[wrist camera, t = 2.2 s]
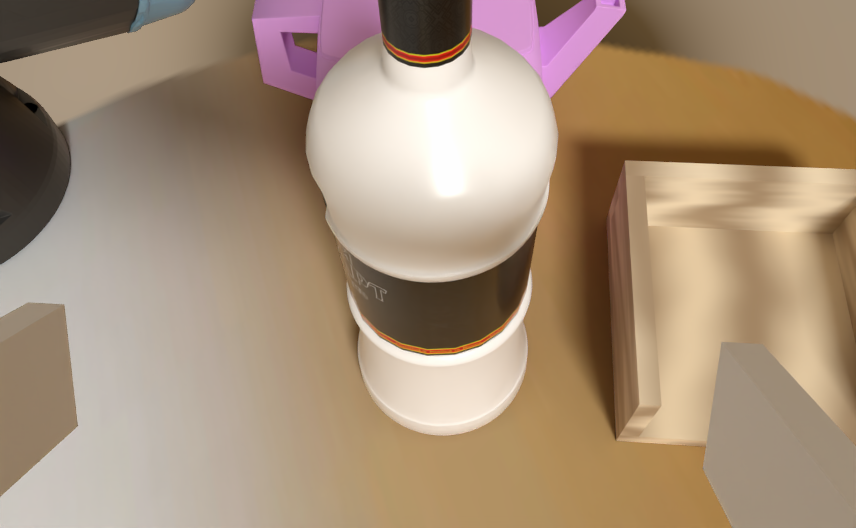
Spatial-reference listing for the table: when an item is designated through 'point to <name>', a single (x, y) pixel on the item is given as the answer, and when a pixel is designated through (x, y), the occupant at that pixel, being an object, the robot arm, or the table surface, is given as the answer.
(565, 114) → the table surface
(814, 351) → the bottle rest
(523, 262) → the vodka
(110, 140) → the table surface
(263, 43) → the teakettle
